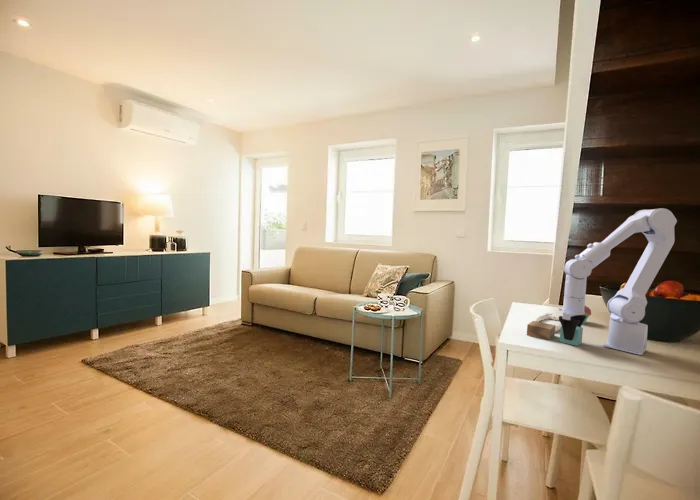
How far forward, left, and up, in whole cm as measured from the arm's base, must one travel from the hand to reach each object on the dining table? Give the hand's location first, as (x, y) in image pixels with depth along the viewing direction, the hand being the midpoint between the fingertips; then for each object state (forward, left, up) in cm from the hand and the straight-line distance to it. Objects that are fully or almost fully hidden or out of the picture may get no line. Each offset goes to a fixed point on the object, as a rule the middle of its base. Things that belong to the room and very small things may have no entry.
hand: (571, 337), depth 113 cm
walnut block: (+9, 0, -2) cm, 9 cm away
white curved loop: (+12, -18, -2) cm, 22 cm away
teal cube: (0, 0, -1) cm, 1 cm away
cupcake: (+6, -32, -2) cm, 33 cm away
